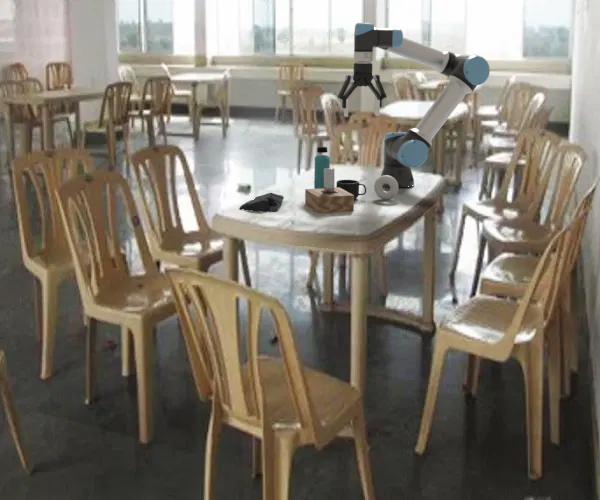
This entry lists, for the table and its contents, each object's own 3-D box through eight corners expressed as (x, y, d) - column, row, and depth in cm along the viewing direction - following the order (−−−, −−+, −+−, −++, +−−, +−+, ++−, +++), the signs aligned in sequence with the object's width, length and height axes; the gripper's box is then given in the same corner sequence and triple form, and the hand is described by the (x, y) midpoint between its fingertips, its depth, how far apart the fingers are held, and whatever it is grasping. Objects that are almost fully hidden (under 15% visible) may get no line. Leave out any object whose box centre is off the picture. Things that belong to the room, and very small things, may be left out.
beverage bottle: (328, 197, 341) (329, 148, 336) (312, 196, 342) (312, 147, 337) (331, 194, 347) (332, 145, 342) (315, 193, 348) (315, 145, 343)
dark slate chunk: (289, 202, 334) (290, 190, 332) (276, 213, 313) (276, 201, 312) (252, 200, 337) (252, 188, 336) (236, 211, 316) (236, 199, 315)
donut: (372, 199, 337) (373, 174, 335) (375, 197, 341) (376, 173, 338) (396, 201, 334) (397, 176, 331) (399, 200, 337) (400, 175, 334)
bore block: (339, 202, 331) (339, 187, 330) (353, 210, 317) (354, 195, 315) (305, 204, 327) (305, 189, 326) (318, 213, 312) (318, 197, 311)
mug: (334, 200, 335) (334, 183, 333) (338, 196, 343) (338, 179, 341) (364, 202, 333) (365, 184, 331) (367, 197, 341) (367, 180, 339)
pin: (332, 203, 324) (332, 167, 320) (335, 205, 320) (335, 169, 317) (322, 204, 323) (322, 168, 319) (326, 206, 319) (325, 169, 316)
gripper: (337, 63, 329) (336, 117, 335) (395, 62, 337) (393, 116, 342) (330, 62, 336) (329, 115, 342) (388, 62, 344) (386, 114, 349)
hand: (361, 116), depth 342 cm, fingers open, 13 cm apart
